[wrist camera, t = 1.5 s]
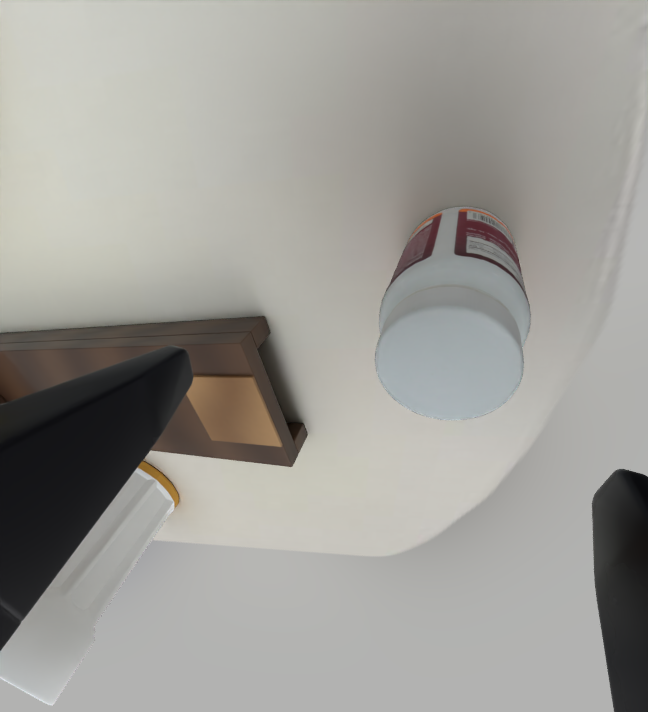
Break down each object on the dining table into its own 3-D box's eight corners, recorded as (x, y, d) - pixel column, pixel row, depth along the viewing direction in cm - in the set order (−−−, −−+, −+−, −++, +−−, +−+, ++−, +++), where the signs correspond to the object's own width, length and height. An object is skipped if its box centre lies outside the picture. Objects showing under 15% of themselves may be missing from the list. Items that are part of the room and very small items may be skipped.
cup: (98, 477, 45) (-59, 643, 32) (99, 429, 38) (-105, 619, 25) (180, 524, 45) (56, 708, 32) (196, 486, 38) (45, 704, 25)
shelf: (264, 316, 22) (216, 369, 18) (308, 435, 28) (277, 497, 24) (-10, 333, 34) (-77, 369, 30) (57, 415, 39) (8, 455, 35)
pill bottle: (415, 312, 19) (382, 431, 13) (394, 219, 17) (341, 307, 10) (520, 298, 17) (543, 432, 11) (513, 190, 15) (537, 277, 8)
